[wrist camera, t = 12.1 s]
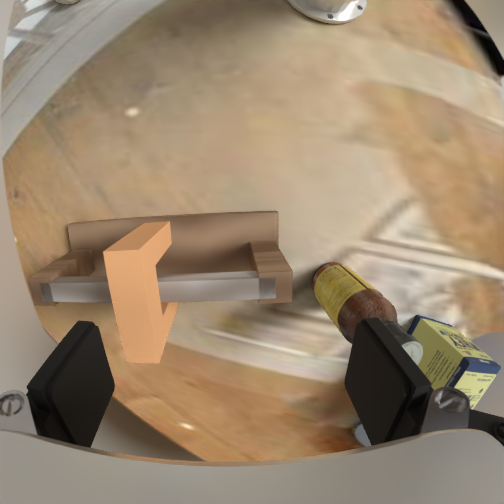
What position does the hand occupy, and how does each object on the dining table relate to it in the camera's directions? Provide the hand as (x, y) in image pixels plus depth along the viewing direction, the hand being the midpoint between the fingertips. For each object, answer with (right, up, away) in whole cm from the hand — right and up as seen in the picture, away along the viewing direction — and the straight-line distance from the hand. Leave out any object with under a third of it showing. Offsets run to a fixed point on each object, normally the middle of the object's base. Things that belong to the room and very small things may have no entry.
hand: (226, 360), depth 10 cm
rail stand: (-10, +4, +29) cm, 31 cm away
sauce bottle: (+12, 0, +31) cm, 34 cm away
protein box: (+30, -15, +37) cm, 50 cm away
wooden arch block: (-9, +2, +24) cm, 26 cm away
